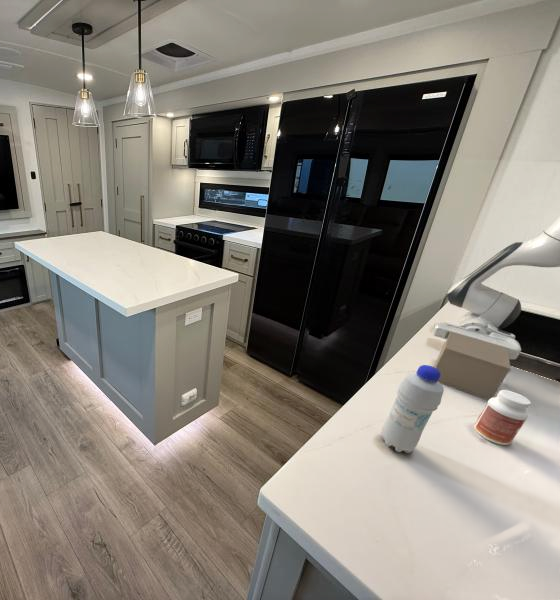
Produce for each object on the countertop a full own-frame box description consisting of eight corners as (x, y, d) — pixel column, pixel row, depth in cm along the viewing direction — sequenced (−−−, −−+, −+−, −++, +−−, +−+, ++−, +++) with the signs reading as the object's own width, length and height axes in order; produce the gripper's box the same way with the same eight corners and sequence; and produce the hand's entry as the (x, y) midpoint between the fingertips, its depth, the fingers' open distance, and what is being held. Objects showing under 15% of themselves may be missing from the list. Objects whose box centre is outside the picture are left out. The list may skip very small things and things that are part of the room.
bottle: (370, 434, 69) (401, 360, 61) (391, 428, 71) (425, 356, 63) (399, 460, 63) (438, 381, 55) (422, 452, 65) (463, 375, 57)
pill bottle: (515, 450, 67) (542, 411, 63) (477, 438, 70) (501, 399, 65) (503, 431, 72) (528, 393, 68) (469, 420, 75) (490, 383, 70)
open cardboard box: (436, 359, 99) (450, 331, 95) (490, 378, 91) (508, 348, 87) (430, 378, 90) (445, 347, 85) (490, 401, 82) (510, 368, 77)
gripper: (438, 314, 109) (433, 326, 100) (522, 336, 96) (525, 352, 87) (431, 330, 112) (426, 343, 103) (512, 354, 99) (514, 371, 90)
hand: (472, 347), depth 95 cm, fingers open, 7 cm apart
